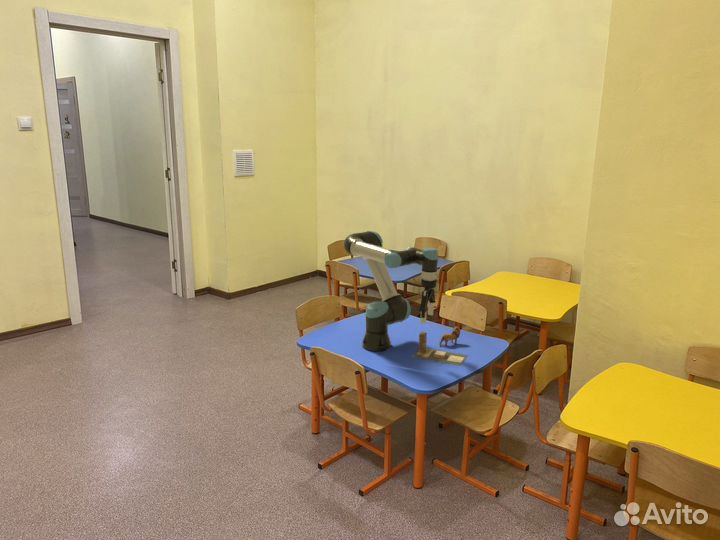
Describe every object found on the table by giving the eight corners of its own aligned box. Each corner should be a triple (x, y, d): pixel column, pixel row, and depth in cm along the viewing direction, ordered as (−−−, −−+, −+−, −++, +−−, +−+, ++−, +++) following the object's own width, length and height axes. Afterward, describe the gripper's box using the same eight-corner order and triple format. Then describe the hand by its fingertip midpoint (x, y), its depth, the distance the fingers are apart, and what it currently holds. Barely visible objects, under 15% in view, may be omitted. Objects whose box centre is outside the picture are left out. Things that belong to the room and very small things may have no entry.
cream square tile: (434, 357, 270) (434, 353, 269) (436, 353, 274) (437, 350, 274) (443, 358, 268) (443, 355, 267) (446, 355, 272) (446, 351, 272)
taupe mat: (412, 358, 270) (412, 357, 270) (421, 348, 282) (421, 347, 282) (461, 367, 260) (461, 365, 260) (467, 356, 272) (467, 355, 272)
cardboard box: (416, 355, 271) (417, 335, 269) (422, 349, 279) (422, 329, 277) (428, 357, 269) (428, 337, 266) (433, 351, 277) (434, 331, 274)
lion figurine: (454, 340, 294) (455, 324, 291) (462, 343, 290) (463, 327, 287) (436, 346, 284) (437, 330, 282) (444, 349, 280) (444, 333, 278)
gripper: (429, 286, 253) (427, 328, 258) (442, 273, 275) (440, 312, 281) (414, 284, 256) (412, 326, 261) (428, 271, 278) (426, 310, 283)
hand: (426, 319), depth 271 cm, fingers open, 13 cm apart
